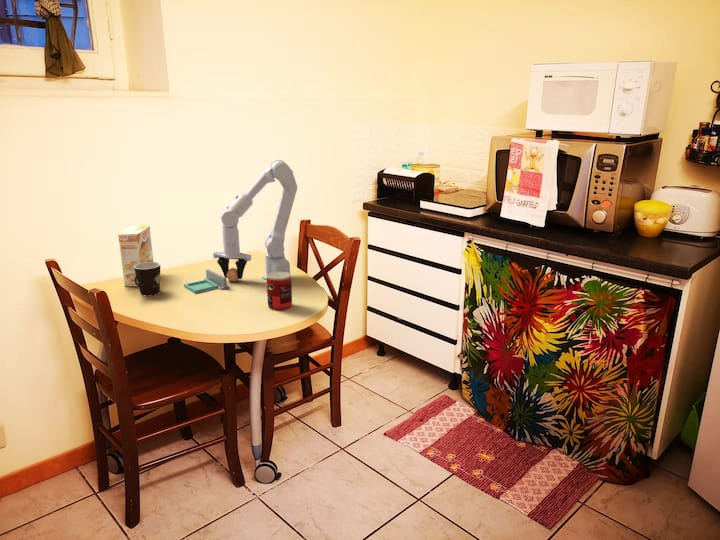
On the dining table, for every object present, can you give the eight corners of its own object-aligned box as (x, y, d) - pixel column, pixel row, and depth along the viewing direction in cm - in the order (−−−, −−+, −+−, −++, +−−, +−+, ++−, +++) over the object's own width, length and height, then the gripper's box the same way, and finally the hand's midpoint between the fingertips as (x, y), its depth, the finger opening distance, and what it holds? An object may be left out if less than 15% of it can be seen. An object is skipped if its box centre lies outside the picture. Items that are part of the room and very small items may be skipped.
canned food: (270, 302, 182) (268, 270, 179) (293, 302, 182) (292, 271, 179) (265, 310, 175) (264, 278, 172) (290, 311, 175) (289, 278, 171)
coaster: (218, 288, 195) (218, 285, 195) (194, 293, 190) (194, 290, 189) (207, 282, 202) (207, 279, 201) (184, 287, 196) (183, 284, 196)
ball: (243, 281, 203) (242, 268, 201) (231, 284, 199) (230, 271, 198) (236, 278, 206) (235, 265, 205) (224, 280, 203) (223, 268, 202)
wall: (229, 288, 195) (228, 277, 194) (221, 289, 193) (221, 279, 192) (211, 278, 205) (210, 268, 204) (204, 280, 203) (203, 270, 202)
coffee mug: (153, 287, 196) (150, 260, 193) (168, 291, 191) (165, 264, 188) (124, 296, 187) (120, 268, 184) (138, 301, 182) (135, 272, 179)
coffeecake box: (143, 286, 197) (137, 233, 191) (123, 286, 196) (116, 234, 190) (155, 273, 211) (150, 224, 205) (137, 273, 211) (131, 224, 205)
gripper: (254, 241, 200) (256, 276, 204) (219, 238, 204) (221, 272, 208) (245, 245, 194) (247, 281, 198) (209, 242, 197) (212, 278, 201)
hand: (233, 277), depth 202 cm, fingers closed on ball, 5 cm apart
